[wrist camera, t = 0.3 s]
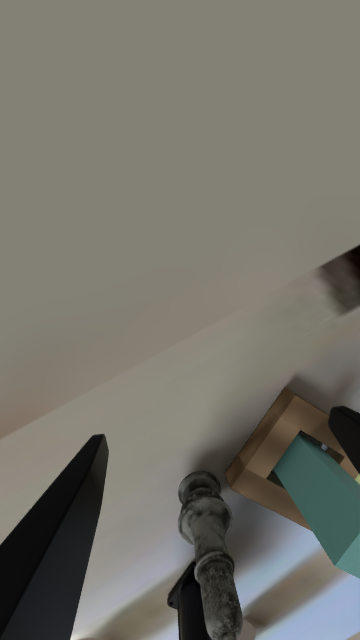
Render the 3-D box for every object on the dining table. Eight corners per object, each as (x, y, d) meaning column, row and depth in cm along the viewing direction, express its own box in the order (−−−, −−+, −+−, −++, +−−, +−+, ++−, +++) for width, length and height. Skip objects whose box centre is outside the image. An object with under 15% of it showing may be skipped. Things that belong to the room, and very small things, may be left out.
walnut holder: (304, 515, 27) (315, 532, 25) (224, 473, 25) (230, 488, 23) (362, 436, 26) (378, 447, 24) (284, 387, 25) (295, 395, 23)
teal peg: (298, 478, 26) (380, 588, 16) (268, 461, 26) (334, 565, 16) (320, 447, 26) (417, 540, 16) (291, 429, 25) (373, 515, 15)
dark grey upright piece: (165, 495, 25) (169, 676, 13) (197, 460, 25) (230, 612, 13) (201, 519, 26) (234, 711, 14) (232, 486, 26) (292, 651, 14)
